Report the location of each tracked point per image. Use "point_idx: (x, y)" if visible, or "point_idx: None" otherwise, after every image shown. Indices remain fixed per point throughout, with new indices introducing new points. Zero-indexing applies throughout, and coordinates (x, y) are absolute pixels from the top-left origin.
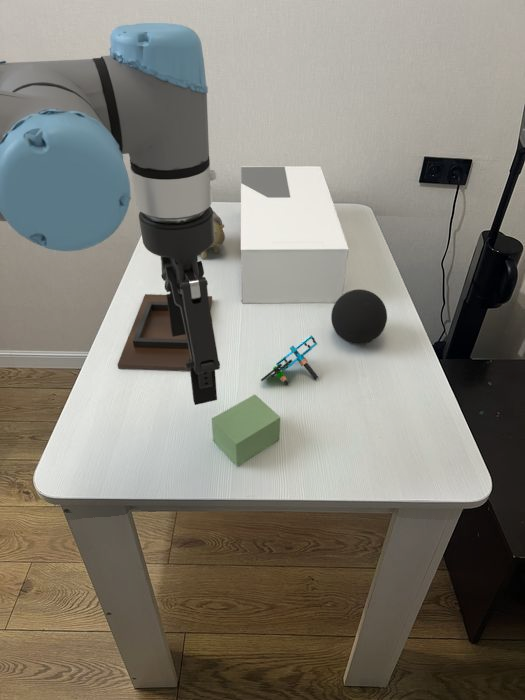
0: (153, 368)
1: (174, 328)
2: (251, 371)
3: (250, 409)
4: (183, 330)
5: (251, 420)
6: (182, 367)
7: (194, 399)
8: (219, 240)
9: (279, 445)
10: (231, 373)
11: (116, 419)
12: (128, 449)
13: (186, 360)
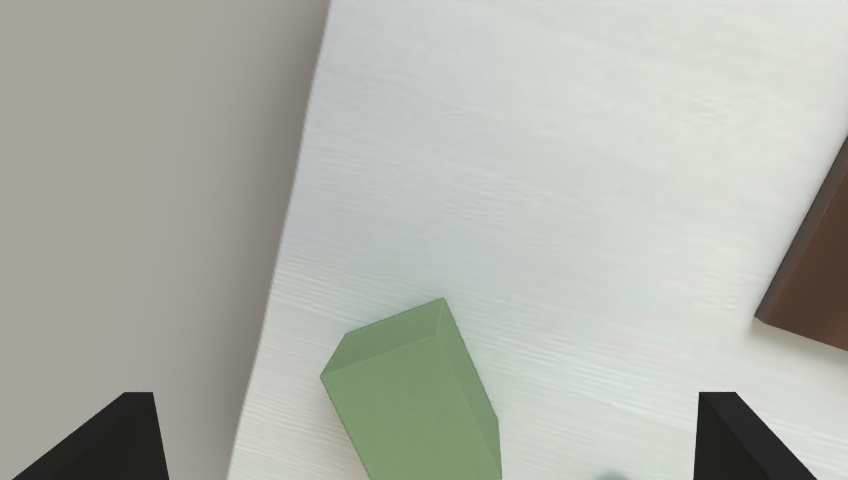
0: (834, 171)
1: (724, 445)
2: (685, 466)
3: (441, 451)
4: (707, 476)
5: (397, 440)
6: (788, 273)
7: (98, 414)
8: None
9: None
10: None
11: (623, 20)
12: (482, 54)
13: (818, 294)
